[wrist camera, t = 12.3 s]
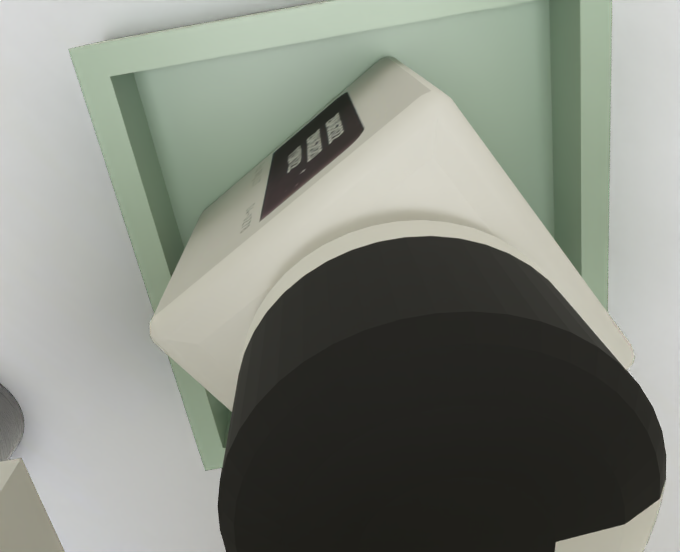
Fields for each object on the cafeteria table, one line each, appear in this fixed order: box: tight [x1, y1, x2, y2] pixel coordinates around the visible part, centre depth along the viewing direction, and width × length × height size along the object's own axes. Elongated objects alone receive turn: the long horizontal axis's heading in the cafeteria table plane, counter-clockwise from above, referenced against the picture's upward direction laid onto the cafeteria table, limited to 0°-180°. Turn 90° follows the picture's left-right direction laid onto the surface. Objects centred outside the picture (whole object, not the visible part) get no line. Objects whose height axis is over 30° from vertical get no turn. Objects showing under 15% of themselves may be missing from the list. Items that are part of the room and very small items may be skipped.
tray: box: [68, 0, 612, 471], centre depth 20 cm, size 14×14×3 cm
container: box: [149, 56, 666, 552], centre depth 14 cm, size 8×8×13 cm
